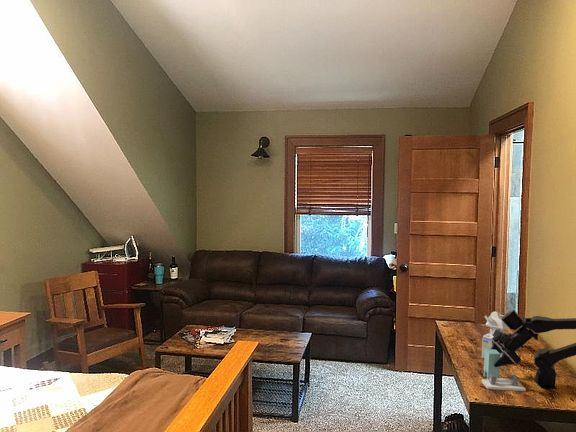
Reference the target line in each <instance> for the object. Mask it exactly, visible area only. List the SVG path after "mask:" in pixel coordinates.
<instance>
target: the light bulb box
mask: <svg viewBox="0 0 576 432" xmlns="http://www.w3.org/2000/svg"><path fill="white" fill-rule="evenodd" d="M493 337H494V336H492V334H489V333H486V334H484V335H482V342H481V345H482V346H481V358H482V359H485V349H491V348H492V341H493V340H492V338H493ZM493 342H494V341H493ZM501 350H502V349H501ZM502 351H503V350H502ZM504 352H505V351H504ZM505 353H506V352H505ZM501 357H502V353H501V354H500V358H501Z"/></svg>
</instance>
